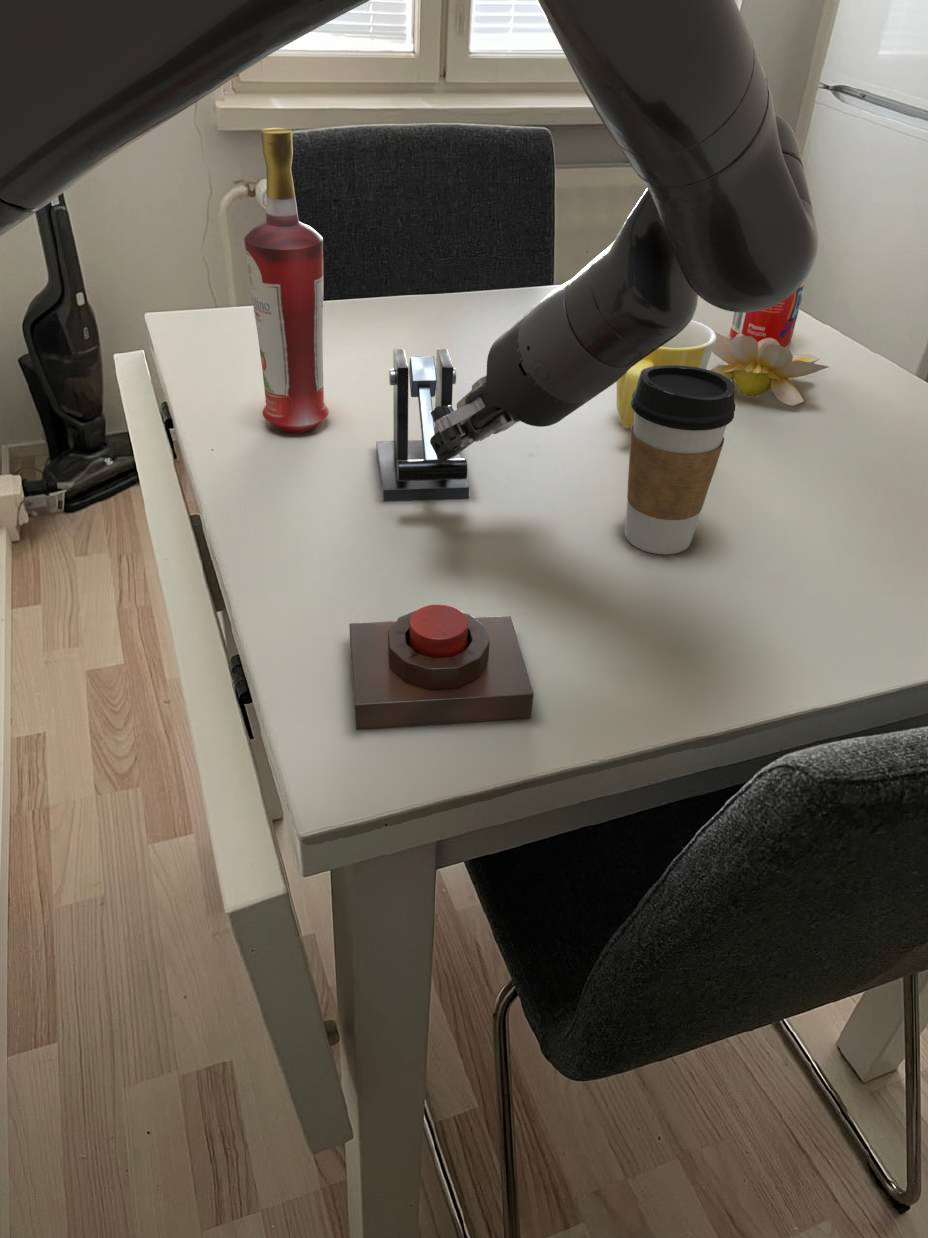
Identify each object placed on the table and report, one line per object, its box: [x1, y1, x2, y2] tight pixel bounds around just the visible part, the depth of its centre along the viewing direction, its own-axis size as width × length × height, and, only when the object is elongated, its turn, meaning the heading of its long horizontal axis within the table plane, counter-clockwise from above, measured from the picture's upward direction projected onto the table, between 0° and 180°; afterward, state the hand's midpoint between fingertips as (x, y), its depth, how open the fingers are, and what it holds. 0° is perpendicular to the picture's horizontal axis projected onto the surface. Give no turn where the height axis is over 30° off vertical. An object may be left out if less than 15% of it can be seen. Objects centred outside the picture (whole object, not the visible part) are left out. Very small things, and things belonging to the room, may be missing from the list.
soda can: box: [729, 277, 808, 348], centre depth 121 cm, size 8×8×15 cm
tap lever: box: [397, 355, 468, 481], centre depth 85 cm, size 12×6×2 cm, turn 8°
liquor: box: [243, 127, 330, 434], centre depth 93 cm, size 7×7×28 cm
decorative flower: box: [709, 331, 830, 406], centre depth 110 cm, size 15×11×10 cm
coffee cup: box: [624, 365, 736, 555], centre depth 81 cm, size 8×8×15 cm
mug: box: [616, 319, 716, 429], centre depth 101 cm, size 14×10×10 cm
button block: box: [348, 610, 535, 730], centre depth 67 cm, size 12×9×4 cm
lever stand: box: [376, 348, 470, 502], centre depth 90 cm, size 10×8×12 cm
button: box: [410, 604, 468, 658], centre depth 66 cm, size 4×4×2 cm
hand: (440, 448), depth 81 cm, fingers closed
